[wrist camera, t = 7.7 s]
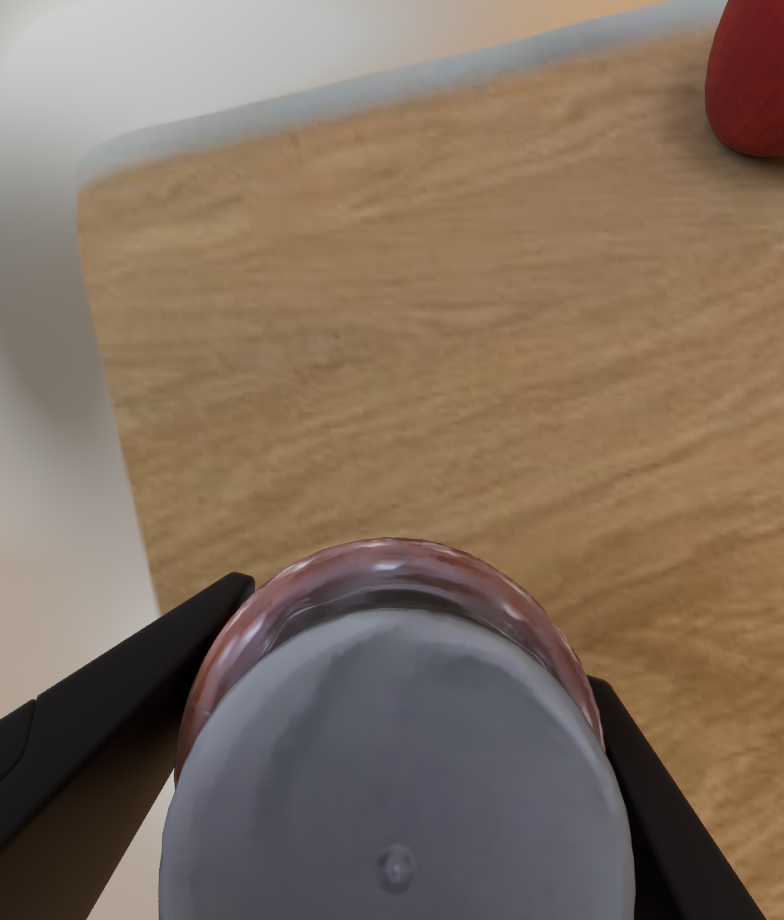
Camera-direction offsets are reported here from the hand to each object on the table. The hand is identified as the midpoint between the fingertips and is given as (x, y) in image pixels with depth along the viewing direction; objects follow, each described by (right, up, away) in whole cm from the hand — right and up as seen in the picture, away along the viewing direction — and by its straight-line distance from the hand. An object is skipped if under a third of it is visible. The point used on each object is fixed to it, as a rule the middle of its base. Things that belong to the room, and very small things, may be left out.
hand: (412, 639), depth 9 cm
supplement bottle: (-1, -3, +6) cm, 7 cm away
